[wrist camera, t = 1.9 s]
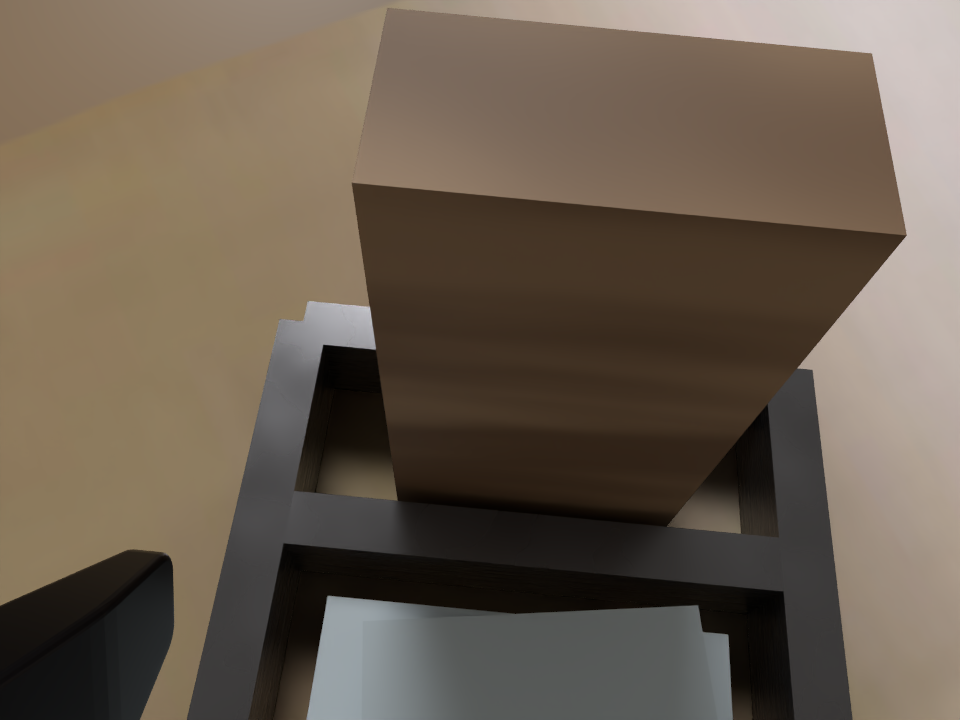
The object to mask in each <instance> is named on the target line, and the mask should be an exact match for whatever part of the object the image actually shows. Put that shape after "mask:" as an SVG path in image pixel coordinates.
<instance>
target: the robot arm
mask: <svg viewBox="0 0 960 720" xmlns="http://www.w3.org/2000/svg"><path fill="white" fill-rule="evenodd" d="M173 630H174V592H173V565H172V561H171V558H170V557H169V556H168V555H167V554H166V553H162V552H154V551H144V550H134V549H133V550H127V551H124V552H122V553H119V554H117V555H115V556H113V557H110V558H108V559H106V560H103V561H101V562H99V563H97V564H94V565H92V566H90V567H87V568H85V569H83V570H81V571H78V572H76V573H74V574H71V575H69V576H67V577H65V578H62V579H60V580H58V581H55V582H53V583H51V584H49V585H46V586H44V587H42V588H39V589H37V590H35V591H33V592H30V593H28V594H26V595H23V596H21V597H19V598H17V599H14V600H12V601H10V602H7V603H5V604H3V605H1V606H0V720H140V718H141V715H142V713H143V711H144V708H145V706H146V703H147V701H148V698H149V696H150V694H151V691H152V689H153V686H154V684H155V681H156V679H157V676H158V674H159V672H160V669H161V667H162V664H163V662H164V659H165V657H166V654H167V652H168V650H169V647H170V644H171V640H172V636H173Z"/></svg>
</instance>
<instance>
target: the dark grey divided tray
mask: <svg viewBox="0 0 960 720" xmlns="http://www.w3.org/2000/svg"><path fill="white" fill-rule="evenodd" d="M334 389H345V390H355V391H366V392H376V393H382V388H381V381H380V374H379V367H378V360H377V353H376V346H375V339H374V332H373V325H372V319H371V312H370V307H364V306H354V305H343V304H333V303H322V302H312V301H308V303H307V308H306V312H305V317H304V321H294V320H284V319H280V320H279V325H278V329H277V333H276V337H275V342H274V346H273V350H272V355H271V359H270V363H269V368H268V372H267V376H266V381H265V385H264V389H263V394H262V398H261V402H260V406H259V411H258V415H257V419H256V424H255V428H254V432H253V437H252V441H251V445H250V450H249V454H248V458H247V462H246V467H245V471H244V475H243V480H242V484H241V488H240V493H239V497H238V501H237V506H236V510H235V514H234V519H233V523H232V527H231V531H230V536H229V540H228V544H227V549H226V553H225V557H224V562H223V566H222V570H221V575H220V579H219V583H218V588H217V592H216V596H215V600H214V605H213V609H212V613H211V618H210V622H209V626H208V631H207V635H206V639H205V644H204V648H203V652H202V656H201V661H200V665H199V669H198V674H197V678H196V682H195V687H194V691H193V695H192V700H191V704H190V708H189V713H188V717H187V720H273V715H274V710H275V704H276V699H277V694H278V688H279V683H280V678H281V672H282V667H283V662H284V656H285V651H286V646H287V640H288V635H289V630H290V624H291V619H292V613H293V608H294V603H295V597H296V592H297V587H298V581H299V576H300V571H309V572H319V573H329V574H340V575H350V576H360V577H371V578H381V579H391V580H402V581H412V582H422V583H433V584H443V585H453V586H464V587H474V588H485V589H495V590H505V591H516V592H526V593H536V594H547V595H557V596H567V597H578V598H588V599H598V600H609V601H619V602H629V603H640V604H650V605H660V606H671V607H674V606H695V605H698V608H699V609H702V610H712V611H722V612H733V613H743V614H747V629H748V645H749V661H750V677H751V693H752V709H753V720H852V711H851V703H850V694H849V685H848V676H847V668H846V659H845V650H844V641H843V633H842V624H841V615H840V607H839V598H838V589H837V580H836V572H835V563H834V554H833V545H832V537H831V528H830V519H829V510H828V502H827V493H826V484H825V476H824V467H823V458H822V449H821V441H820V432H819V423H818V414H817V406H816V397H815V388H814V380H813V371H812V370H807V369H796V370H795V371H794V372H793V374H792V375H791V376H790V377H789V379H788V380H787V381H786V382H785V383H784V385H783V386H782V387H781V388H780V389H779V391H778V392H777V393H776V394H775V395H774V397H773V398H772V399H771V400H770V402H769V403H768V404H767V405H766V406H765V408H764V409H763V410H762V411H761V412H760V414H759V415H758V416H757V417H756V418H755V420H754V421H753V422H752V423H751V425H750V426H749V427H748V428H747V429H746V431H745V432H744V433H743V434H742V435H741V437H740V438H739V439H738V440H737V442H736V454H737V470H738V486H739V502H740V518H741V534H736V533H726V532H715V531H705V530H695V529H684V528H674V527H663V526H653V525H643V524H632V523H622V522H612V521H601V520H591V519H580V518H570V517H560V516H549V515H539V514H528V513H518V512H508V511H497V510H487V509H477V508H466V507H456V506H445V505H435V504H425V503H414V502H404V501H394V500H383V499H373V498H362V497H352V496H342V495H331V494H321V493H315V491H316V485H317V480H318V475H319V469H320V464H321V459H322V453H323V448H324V443H325V437H326V432H327V427H328V421H329V416H330V411H331V405H332V400H333V395H334Z"/></svg>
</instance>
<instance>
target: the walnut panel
mask: <svg viewBox="0 0 960 720" xmlns="http://www.w3.org/2000/svg"><path fill="white" fill-rule="evenodd" d="M352 187H353V194H354V201H355V208H356V215H357V222H358V229H359V236H360V242H361V249H362V256H363V263H364V270H365V277H366V284H367V291H368V298H369V305H370V312H371V319H372V325H373V332H374V339H375V346H376V353H377V360H378V367H379V374H380V381H381V388H382V395H383V402H384V408H385V415H386V422H387V429H388V436H389V443H390V450H391V457H392V464H393V471H394V478H395V485H396V491H397V498H398V501H404V502H414V503H425V504H435V505H445V506H456V507H466V508H477V509H487V510H497V511H508V512H518V513H528V514H539V515H549V516H560V517H570V518H580V519H591V520H601V521H612V522H622V523H632V524H643V525H653V526H663V527H666V526H667V525H668V524H669V523H670V521H671V520H672V519H673V518H674V517H675V515H676V514H677V513H678V512H679V511H680V509H681V508H682V507H683V506H684V504H685V503H686V502H687V501H688V500H689V498H690V497H691V496H692V495H693V494H694V492H695V491H696V490H697V489H698V488H699V486H700V485H701V484H702V483H703V481H704V480H705V479H706V478H707V477H708V475H709V474H710V473H711V472H712V471H713V469H714V468H715V467H716V466H717V465H718V463H719V462H720V461H721V460H722V458H723V457H724V456H725V455H726V454H727V452H728V451H729V450H730V449H731V448H732V446H733V445H734V444H735V443H736V442H737V440H738V439H739V438H740V437H741V435H742V434H743V433H744V432H745V431H746V429H747V428H748V427H749V426H750V425H751V423H752V422H753V421H754V420H755V418H756V417H757V416H758V415H759V414H760V412H761V411H762V410H763V409H764V408H765V406H766V405H767V404H768V403H769V402H770V400H771V399H772V398H773V397H774V395H775V394H776V393H777V392H778V391H779V389H780V388H781V387H782V386H783V385H784V383H785V382H786V381H787V380H788V379H789V377H790V376H791V375H792V374H793V372H794V371H795V370H796V369H797V368H798V366H799V365H800V364H801V363H802V362H803V360H804V359H805V358H806V357H807V356H808V354H809V353H810V352H811V351H812V349H813V348H814V347H815V346H816V345H817V343H818V342H819V341H820V340H821V339H822V337H823V336H824V335H825V334H826V332H827V331H828V330H829V329H830V328H831V326H832V325H833V324H834V323H835V322H836V320H837V319H838V318H839V317H840V316H841V314H842V313H843V312H844V311H845V309H846V308H847V307H848V306H849V305H850V303H851V302H852V301H853V300H854V299H855V297H856V296H857V295H858V294H859V293H860V291H861V290H862V289H863V288H864V286H865V285H866V284H867V283H868V282H869V280H870V279H871V278H872V277H873V276H874V274H875V273H876V272H877V271H878V269H879V268H880V267H881V266H882V265H883V263H884V262H885V261H886V260H887V259H888V257H889V256H890V255H891V254H892V253H893V251H894V250H895V249H896V248H897V246H898V245H899V244H900V243H901V242H902V240H903V239H904V238H905V237H906V236H907V234H906V229H905V224H904V219H903V214H902V208H901V203H900V198H899V193H898V187H897V182H896V177H895V172H894V167H893V161H892V156H891V151H890V146H889V140H888V135H887V130H886V125H885V120H884V114H883V109H882V104H881V99H880V93H879V88H878V83H877V78H876V73H875V67H874V62H873V57H872V54H871V53H860V52H850V51H839V50H828V49H818V48H807V47H797V46H786V45H775V44H765V43H754V42H744V41H733V40H722V39H712V38H701V37H690V36H680V35H669V34H659V33H648V32H637V31H627V30H616V29H605V28H595V27H584V26H574V25H563V24H552V23H542V22H531V21H520V20H510V19H499V18H489V17H478V16H467V15H457V14H446V13H435V12H425V11H414V10H404V9H393V8H387V12H386V17H385V22H384V27H383V32H382V37H381V42H380V47H379V51H378V56H377V61H376V66H375V71H374V76H373V81H372V86H371V91H370V96H369V101H368V106H367V111H366V115H365V120H364V125H363V130H362V135H361V140H360V145H359V150H358V155H357V160H356V165H355V170H354V175H353V180H352Z"/></svg>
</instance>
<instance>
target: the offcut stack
mask: <svg viewBox="0 0 960 720" xmlns="http://www.w3.org/2000/svg"><path fill="white" fill-rule="evenodd" d="M307 720H733V716H732V697H731V678H730V659H729V639H728V634H718V633H708V632H703V631H702V625H701V620H700V614H699V608H698V605H695V606H674V607H652V608H631V609H610V610H589V611H568V612H546V613H525V614H511V613H501V612H491V611H480V610H470V609H460V608H449V607H439V606H429V605H418V604H408V603H398V602H387V601H377V600H367V599H356V598H346V597H336V596H328V597H327V603H326V609H325V615H324V621H323V626H322V632H321V638H320V644H319V650H318V656H317V662H316V668H315V674H314V680H313V685H312V691H311V697H310V703H309V709H308V715H307Z"/></svg>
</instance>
